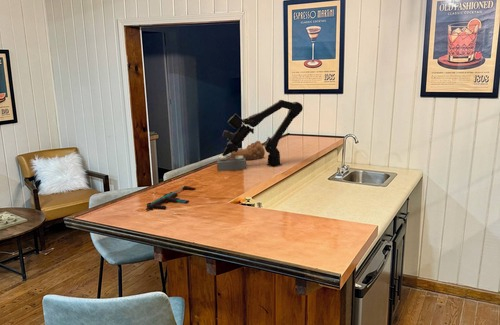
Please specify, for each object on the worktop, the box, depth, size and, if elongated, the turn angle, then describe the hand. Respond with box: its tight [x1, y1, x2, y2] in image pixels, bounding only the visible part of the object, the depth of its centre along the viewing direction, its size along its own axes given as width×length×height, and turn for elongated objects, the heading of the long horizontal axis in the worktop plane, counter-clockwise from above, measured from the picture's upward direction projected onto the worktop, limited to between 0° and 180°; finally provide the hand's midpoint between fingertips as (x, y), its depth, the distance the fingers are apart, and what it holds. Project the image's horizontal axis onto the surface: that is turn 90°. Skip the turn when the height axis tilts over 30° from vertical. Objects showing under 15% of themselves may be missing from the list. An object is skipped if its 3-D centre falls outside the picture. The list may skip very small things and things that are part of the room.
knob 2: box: [235, 155, 243, 160], centre depth 232 cm, size 5×5×6 cm
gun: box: [145, 185, 197, 211], centre depth 184 cm, size 32×2×15 cm
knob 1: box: [218, 154, 228, 161], centre depth 231 cm, size 5×5×6 cm
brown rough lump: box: [230, 140, 266, 160], centre depth 253 cm, size 19×11×15 cm
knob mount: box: [216, 157, 247, 172], centre depth 232 cm, size 16×8×5 cm, turn 93°
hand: (222, 155), depth 230 cm, fingers closed, pressing on knob 1
